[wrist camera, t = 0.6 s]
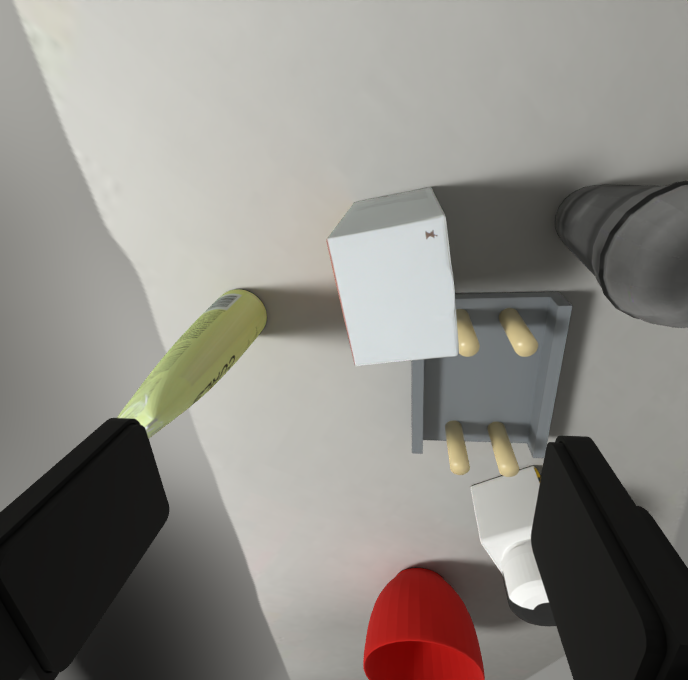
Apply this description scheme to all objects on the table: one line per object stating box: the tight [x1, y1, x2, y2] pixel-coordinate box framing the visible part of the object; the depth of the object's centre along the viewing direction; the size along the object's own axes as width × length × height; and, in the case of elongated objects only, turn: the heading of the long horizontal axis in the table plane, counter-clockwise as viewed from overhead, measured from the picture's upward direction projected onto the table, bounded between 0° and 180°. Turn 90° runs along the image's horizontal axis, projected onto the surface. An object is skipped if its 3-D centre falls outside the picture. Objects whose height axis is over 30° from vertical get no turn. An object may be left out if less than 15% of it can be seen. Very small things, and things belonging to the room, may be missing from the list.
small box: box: [327, 187, 459, 366], centre depth 28 cm, size 8×6×13 cm
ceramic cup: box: [364, 568, 485, 680], centre depth 49 cm, size 13×17×10 cm
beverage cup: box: [555, 181, 688, 328], centre depth 22 cm, size 7×7×20 cm
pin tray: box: [412, 292, 572, 477], centre depth 35 cm, size 15×12×7 cm
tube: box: [117, 289, 267, 439], centre depth 30 cm, size 6×5×20 cm
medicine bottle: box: [471, 466, 556, 626], centre depth 38 cm, size 7×7×12 cm
